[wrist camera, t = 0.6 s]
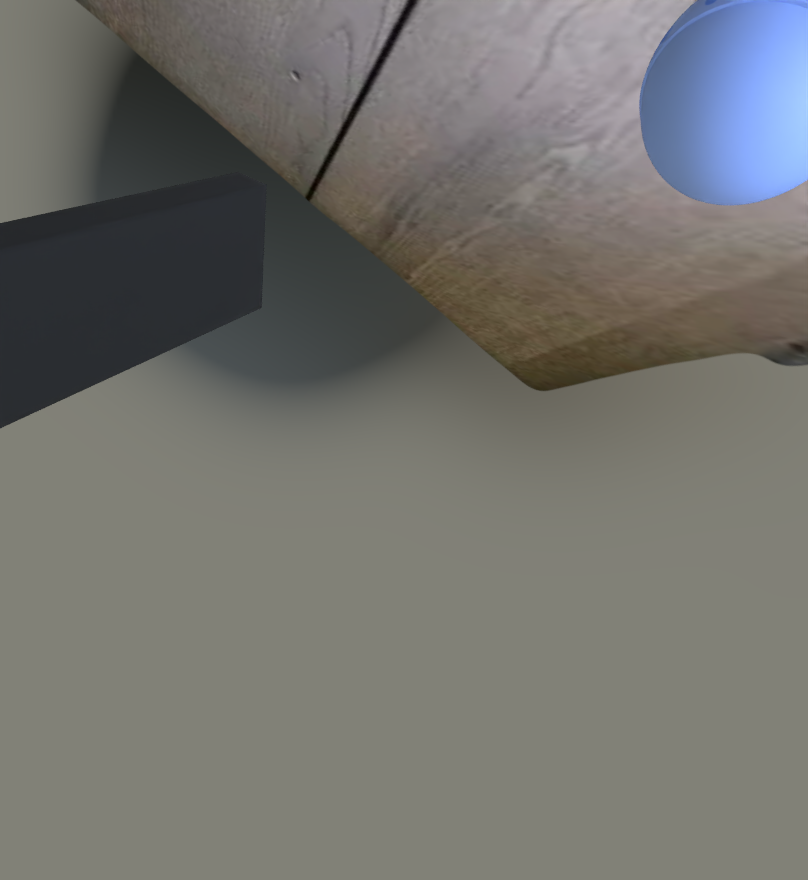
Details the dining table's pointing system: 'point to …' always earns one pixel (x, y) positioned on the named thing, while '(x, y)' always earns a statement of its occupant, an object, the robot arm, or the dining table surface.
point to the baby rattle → (730, 101)
